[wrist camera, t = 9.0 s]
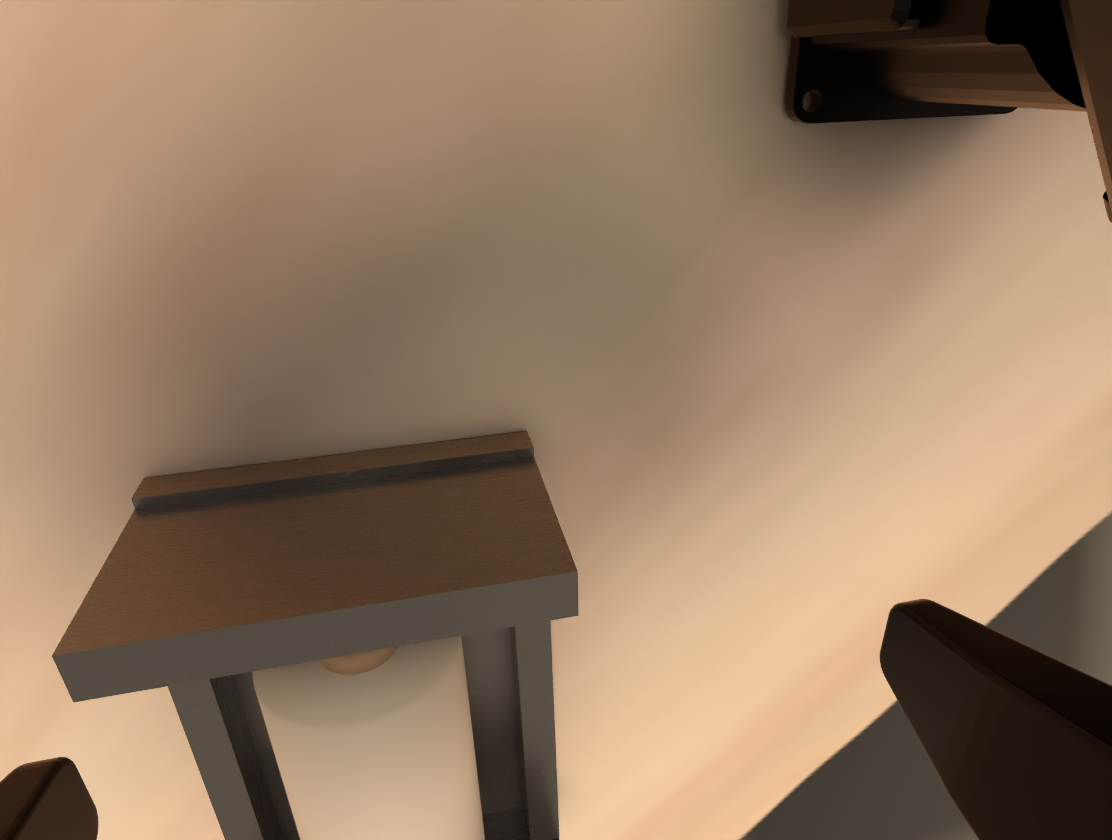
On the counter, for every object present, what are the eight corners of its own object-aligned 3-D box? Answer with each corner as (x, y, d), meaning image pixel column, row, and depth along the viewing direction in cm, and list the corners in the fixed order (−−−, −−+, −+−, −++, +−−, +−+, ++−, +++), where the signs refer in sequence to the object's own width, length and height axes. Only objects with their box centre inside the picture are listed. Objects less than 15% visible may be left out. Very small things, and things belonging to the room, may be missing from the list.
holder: (526, 431, 20) (577, 559, 15) (546, 802, 27) (584, 978, 22) (143, 478, 18) (46, 643, 13) (272, 862, 25) (242, 1068, 20)
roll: (268, 578, 19) (225, 729, 15) (453, 553, 20) (465, 690, 16) (331, 815, 24) (312, 986, 19) (480, 788, 25) (495, 946, 20)
